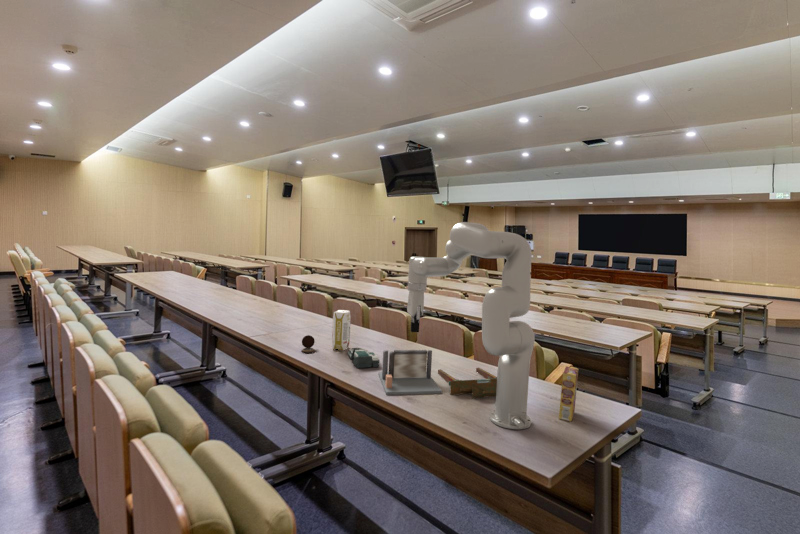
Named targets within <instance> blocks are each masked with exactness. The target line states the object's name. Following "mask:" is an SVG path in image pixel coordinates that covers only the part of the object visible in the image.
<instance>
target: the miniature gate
mask: <svg viewBox="0 0 800 534" xmlns="http://www.w3.org/2000/svg"><path fill="white" fill-rule="evenodd" d="M475 369H476V370H475V372H476V373H477V372H478V373H477V374H479V375H480V376H482V378H481V379H480V378H478V379H456V378H454V377H453V376H452V375H450V374H448V373H447V372H445V371H444V370H443V369H437V374H438V375H439V376H440V377H441V379H443V380H445V382H448V386H450V389H449V390H450V391H449V393H450V395H451V396H453V395H454V396H455V395H465V394H466V395H468V394H469V393H470V394H471V395H472V396H471V397H472V398H471V399H476V398H477V399H478V398H480V399H481V398H490V397H491V398H493V397H494V398H496V388H497V375H494V374H492V373H490V372H489V371H487V370H484V369H482V368H481V367H476V368H475ZM470 394H469V395H470Z"/></svg>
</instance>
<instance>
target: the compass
mask: <svg viewBox="0 0 800 534" xmlns="http://www.w3.org/2000/svg"><path fill="white" fill-rule="evenodd" d="M315 343H316V341H315V338H314V337H313V336H312V335H310V334H307V335H305V336H304V337H303V338H302V340H301V344H302V346H303V347H304V348H302V349H301V353H302V352H304V353H303V354H313V353H315V352H317V351H319V349H315V348H312V347H313V346H314V345H315ZM314 351H315V352H314ZM312 352H313V353H312Z"/></svg>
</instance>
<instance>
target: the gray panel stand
mask: <svg viewBox="0 0 800 534" xmlns="http://www.w3.org/2000/svg"><path fill="white" fill-rule="evenodd" d="M432 357H433V350H431V349H430V350H429V349H428V350H427V365H426V377H419V378H392V375H389V350H387V349H385V350H383V351H382V369H381V371H379V372H378V377H379V380H380V382H381V385H382V388H383V390H384V393H385V395H386V396H391V395H395V396H396V395H397V396H399V395H429V394H431V395H432V394H434V395H435V394H442V392H443V390H442V389H441V387H439V385H438V384H437V383H436V382H435V380H434V379H433V377H432V363H433V362H432V359H433V358H432Z"/></svg>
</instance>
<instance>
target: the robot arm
mask: <svg viewBox="0 0 800 534" xmlns="http://www.w3.org/2000/svg"><path fill="white" fill-rule="evenodd" d="M445 252H446V254H447V255H445V256H442V257H438V256H437V257H435V256H434V257H426V256H410V258H409V260H408V262H409V263H408V274H407V275H408V278H407V279H408V280H407V291H408V297H407V299H408V300H407V306H406V308H407V309H406V311H407V314H409V316H411V317H410V332H411V333H419V332H420V321H421V317H422V316H423V315H424V312H425V311H424V309H425V307H424V305H425V292H427V283H428V281H427V280H428V278H433V277H445V276H449V275H451V274H452V273H455V271H457V270H458V269H459V268H460V267H461V266H462V264H463V262H464V261H463V260H465V259H466V258H468V257H469V256H471V255H474V256H475V257H479V258H481V259H482V258H483V259H505V260H506V262H505V263H504V265H503V268H502V272H501V286H497V287H494V288H491V289H489V290H488V291H487V292H486V293H485V295H484V298H483V299H482V307H481V340H482V345H483V347H484V349H485V351H486V352H487V353H488V354H489V355H491V356H494V357H499V359H498V362H497V363H498V364H497V373H496V374H497V375H496V377H497V388H496V396H495V408H494V409H495V410H492V411H491V412H490V413H489V418H490V420H491V422H492V423H493V424H495V425H497V426H499V427H501V428H504V429H509V430H525V429H528V428H530V427H531V426H532V418H531V417H530V416H529V415H528V400H529V399H528V397H529V396H528V394H529V381H530V370H531V369H530V368H531V367H530V366H531V358H532V353H533V349H534V345H535V332H534V330H533V328H532V327H531V325H529V324H528V323H527V322H525V321H521V320H511V319H512V318H519V317H523V316H525V315H526V314H528V313H529V311H530V307H531V269H532V257H533V256H532V248H531V245H530V243H529V241H528V240H527V239H526V238H525V237H523V236H522V235H520V234H518V233H514V232H508V231H495V230H489V228H488V227H487V226H485V225H484V224H482V223H478V222H477V223H476V222H468V221H462V222H461V221H460V222H457V223H456V224H454V225H453V227H452V228H451V230H450V232H449V240H448V241H447V242H446V244H445Z"/></svg>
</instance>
